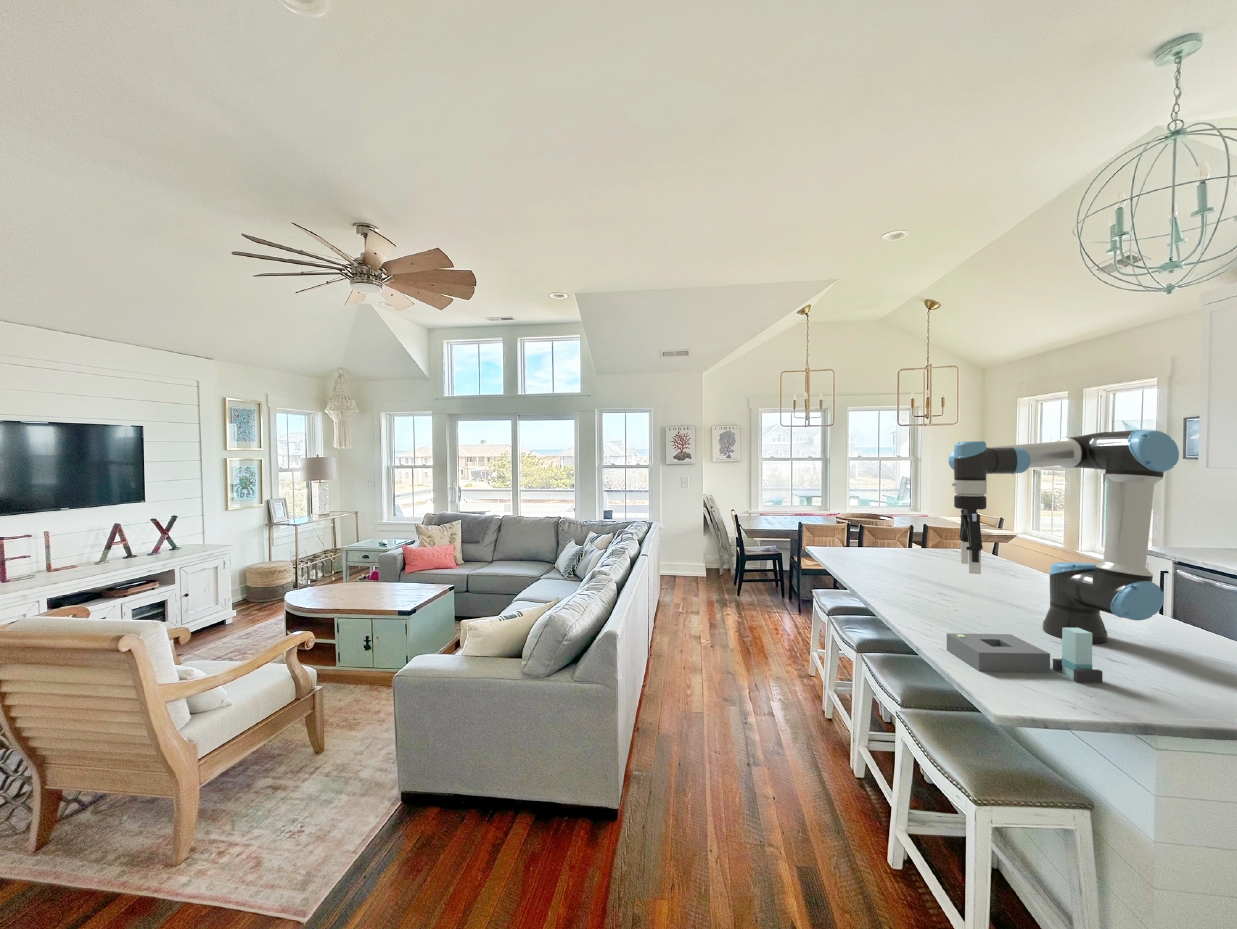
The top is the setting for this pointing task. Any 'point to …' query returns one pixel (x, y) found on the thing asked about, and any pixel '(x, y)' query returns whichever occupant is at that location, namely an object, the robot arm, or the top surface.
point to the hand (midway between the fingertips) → (970, 568)
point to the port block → (998, 653)
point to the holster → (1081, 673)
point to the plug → (1076, 650)
